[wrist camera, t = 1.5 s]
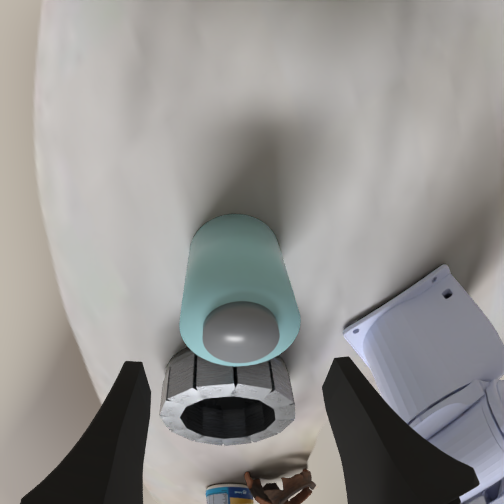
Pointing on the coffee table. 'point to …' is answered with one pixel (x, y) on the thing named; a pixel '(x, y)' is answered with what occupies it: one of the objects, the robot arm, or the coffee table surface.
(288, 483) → the brown jagged hollow piece
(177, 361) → the faceted grey ring
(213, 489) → the beverage bottle
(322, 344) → the coffee table surface
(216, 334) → the teal cylinder
